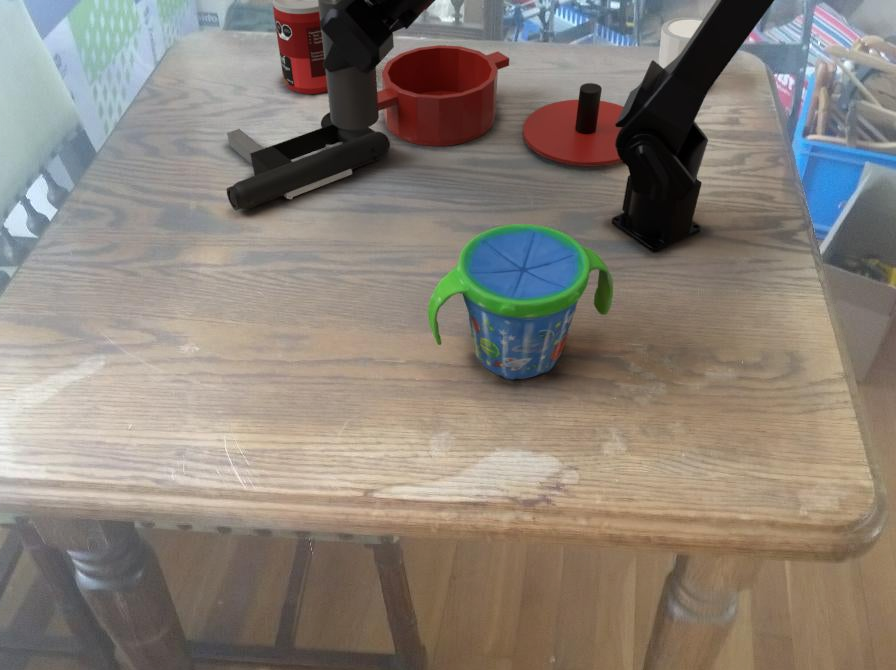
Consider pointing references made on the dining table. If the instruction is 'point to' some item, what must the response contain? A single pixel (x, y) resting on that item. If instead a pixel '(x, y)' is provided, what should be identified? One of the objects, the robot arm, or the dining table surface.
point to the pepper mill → (349, 89)
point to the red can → (300, 45)
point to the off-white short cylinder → (676, 38)
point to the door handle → (302, 162)
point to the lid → (576, 129)
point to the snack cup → (521, 295)
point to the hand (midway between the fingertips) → (338, 56)
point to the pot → (440, 94)
